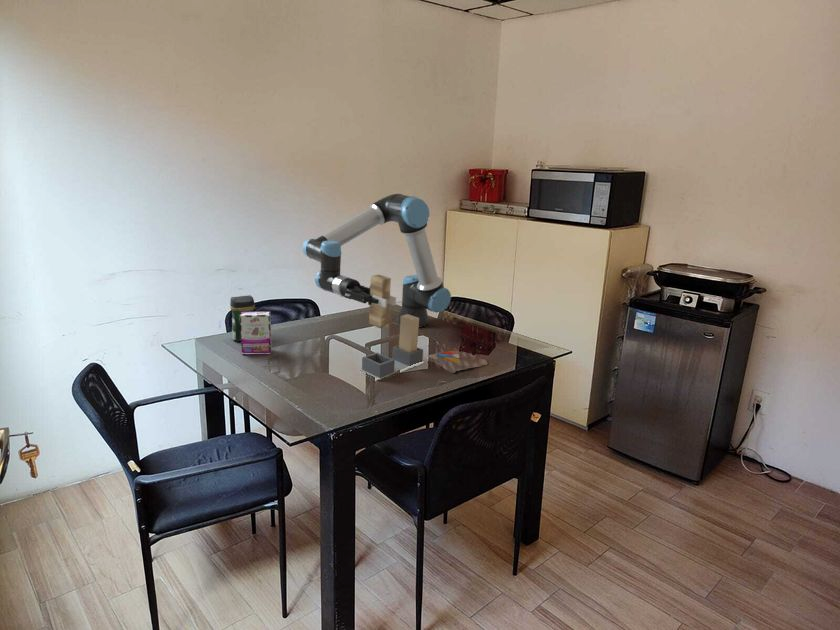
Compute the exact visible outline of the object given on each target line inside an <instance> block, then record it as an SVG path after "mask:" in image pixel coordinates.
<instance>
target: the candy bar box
mask: <svg viewBox="0 0 840 630" xmlns="http://www.w3.org/2000/svg"><path fill="white" fill-rule="evenodd" d="M271 323H272V321H271V311H253V312H241V315H240V325H241V342H240V343H241V353H242V352H243V353H271V354H272V327H271V326H272V325H271Z"/></svg>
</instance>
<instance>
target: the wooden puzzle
mask: <svg viewBox="0 0 840 630" xmlns="http://www.w3.org/2000/svg"><path fill="white" fill-rule="evenodd" d="M436 354H437V356H436ZM427 357H430V358H433V359H438V358H439V357H441V358H443V359H446V360H449V361H451V362H454V363H460V362H459V359H457V358H459V355H458V354H456V351H455V352H454V350H449V351H440V352H439V351H438V352H437V353H432V354H429V355H427Z"/></svg>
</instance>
